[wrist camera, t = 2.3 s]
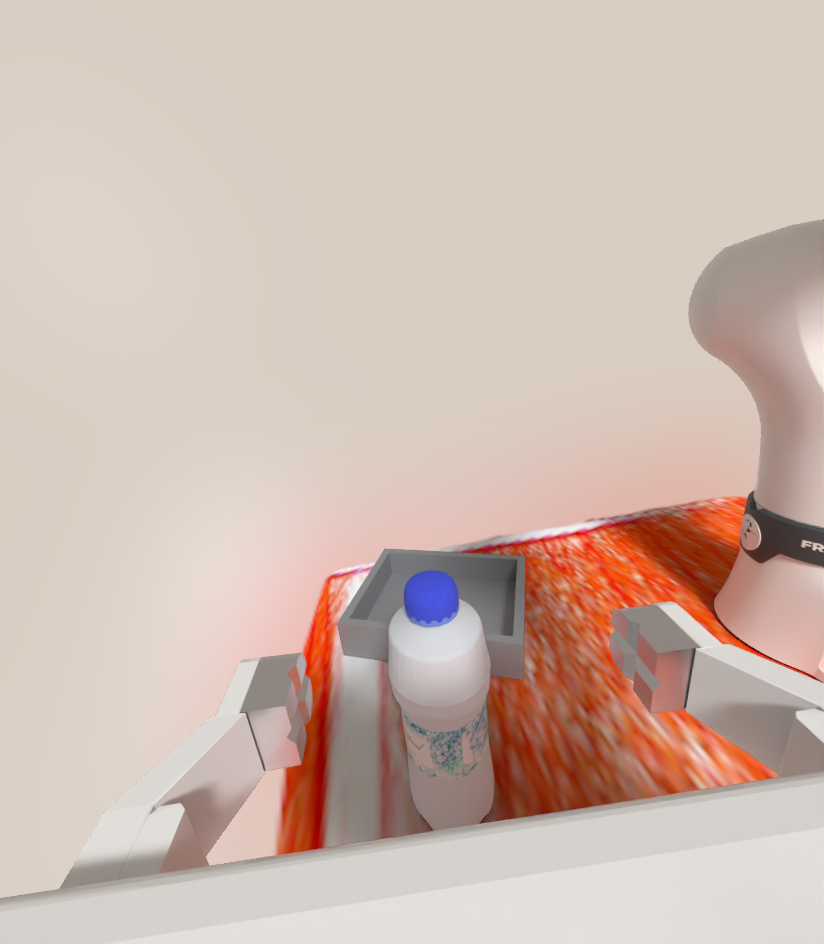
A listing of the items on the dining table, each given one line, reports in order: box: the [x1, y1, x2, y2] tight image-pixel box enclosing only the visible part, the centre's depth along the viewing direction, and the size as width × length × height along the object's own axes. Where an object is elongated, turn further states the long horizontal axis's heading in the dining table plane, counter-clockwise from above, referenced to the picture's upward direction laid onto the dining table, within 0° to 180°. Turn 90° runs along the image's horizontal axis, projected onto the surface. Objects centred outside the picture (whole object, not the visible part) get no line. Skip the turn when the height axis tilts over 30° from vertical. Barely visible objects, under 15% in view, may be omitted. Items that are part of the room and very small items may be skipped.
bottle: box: [388, 570, 494, 831], centre depth 27 cm, size 7×7×20 cm
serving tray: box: [337, 549, 526, 680], centre depth 49 cm, size 20×16×4 cm
